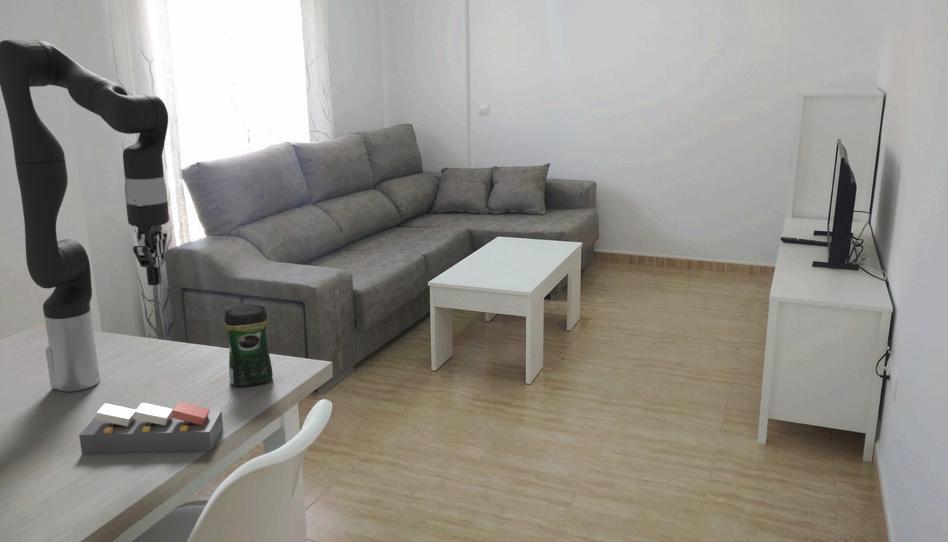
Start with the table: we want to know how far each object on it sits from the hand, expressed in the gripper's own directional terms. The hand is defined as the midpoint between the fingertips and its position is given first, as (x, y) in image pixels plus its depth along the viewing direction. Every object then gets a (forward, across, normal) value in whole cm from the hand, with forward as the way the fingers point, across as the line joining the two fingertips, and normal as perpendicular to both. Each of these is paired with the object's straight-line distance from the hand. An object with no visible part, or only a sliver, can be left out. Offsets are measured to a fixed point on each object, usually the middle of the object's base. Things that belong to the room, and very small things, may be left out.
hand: (154, 284), depth 157 cm
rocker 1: (+24, +13, -5) cm, 28 cm away
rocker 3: (+23, +13, +9) cm, 28 cm away
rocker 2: (+24, +13, +2) cm, 27 cm away
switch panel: (+28, +13, +2) cm, 31 cm away
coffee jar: (+28, -15, +14) cm, 35 cm away
